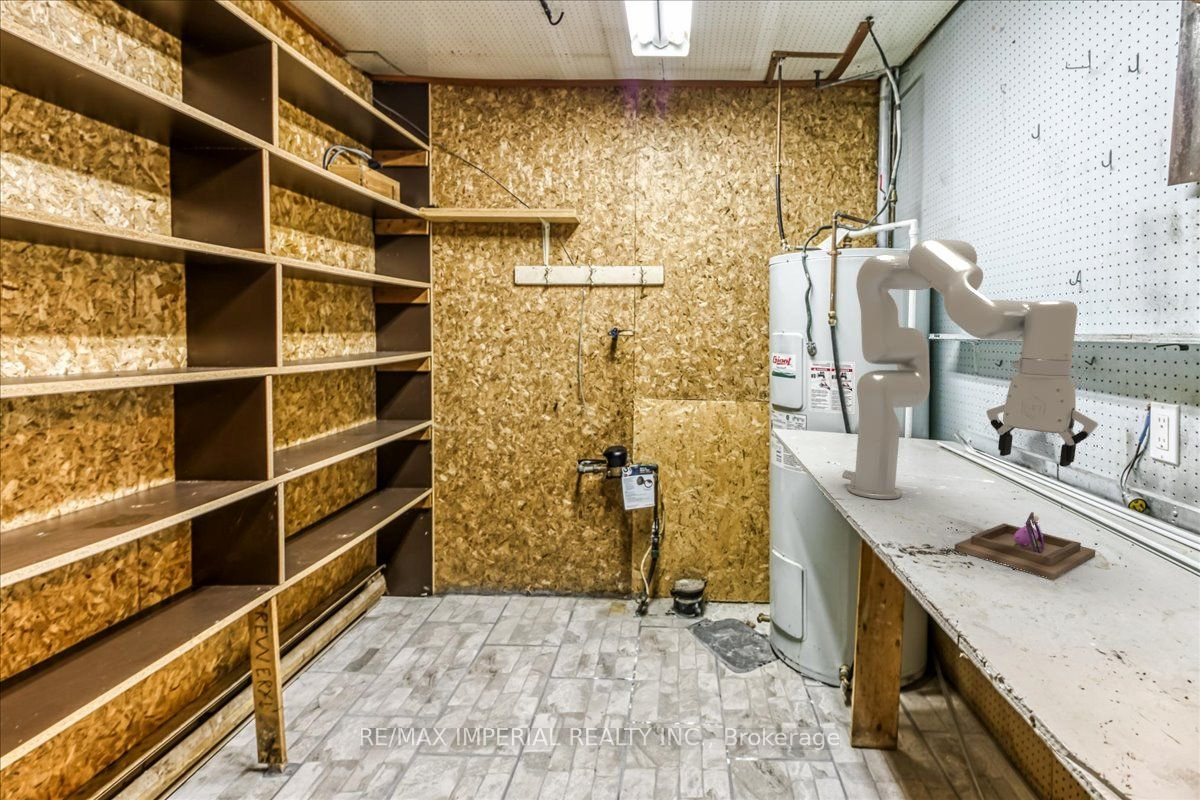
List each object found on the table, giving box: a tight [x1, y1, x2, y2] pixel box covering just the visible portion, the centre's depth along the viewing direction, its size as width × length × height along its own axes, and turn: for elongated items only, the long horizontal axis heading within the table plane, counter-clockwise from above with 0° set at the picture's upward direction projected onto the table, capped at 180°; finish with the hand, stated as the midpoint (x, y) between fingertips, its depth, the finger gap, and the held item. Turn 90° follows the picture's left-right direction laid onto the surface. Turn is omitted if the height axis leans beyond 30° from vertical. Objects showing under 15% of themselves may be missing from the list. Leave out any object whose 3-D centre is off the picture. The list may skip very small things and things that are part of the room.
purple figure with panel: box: [1012, 512, 1044, 554], centre depth 112 cm, size 7×5×9 cm
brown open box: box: [954, 523, 1096, 580], centre depth 114 cm, size 16×20×3 cm
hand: (1033, 460), depth 112 cm, fingers open, 9 cm apart
